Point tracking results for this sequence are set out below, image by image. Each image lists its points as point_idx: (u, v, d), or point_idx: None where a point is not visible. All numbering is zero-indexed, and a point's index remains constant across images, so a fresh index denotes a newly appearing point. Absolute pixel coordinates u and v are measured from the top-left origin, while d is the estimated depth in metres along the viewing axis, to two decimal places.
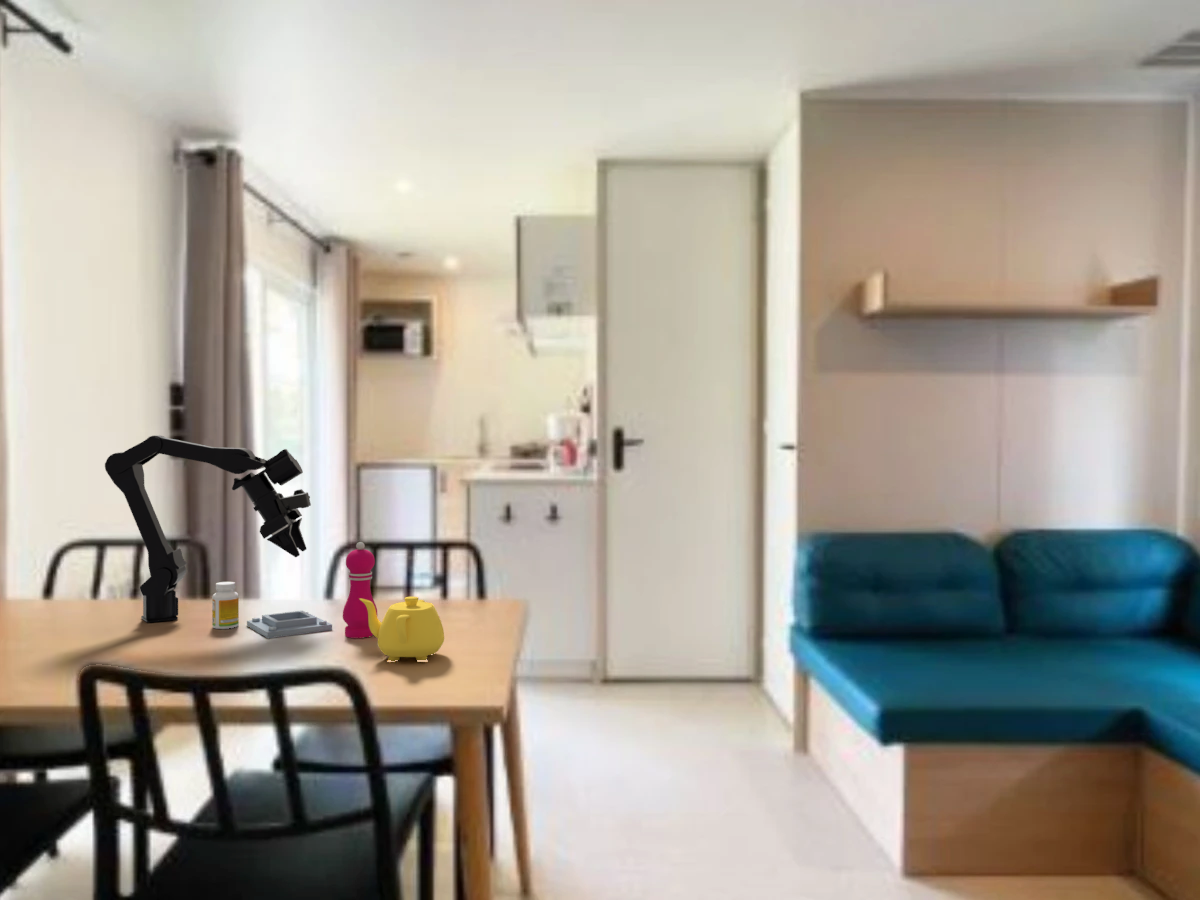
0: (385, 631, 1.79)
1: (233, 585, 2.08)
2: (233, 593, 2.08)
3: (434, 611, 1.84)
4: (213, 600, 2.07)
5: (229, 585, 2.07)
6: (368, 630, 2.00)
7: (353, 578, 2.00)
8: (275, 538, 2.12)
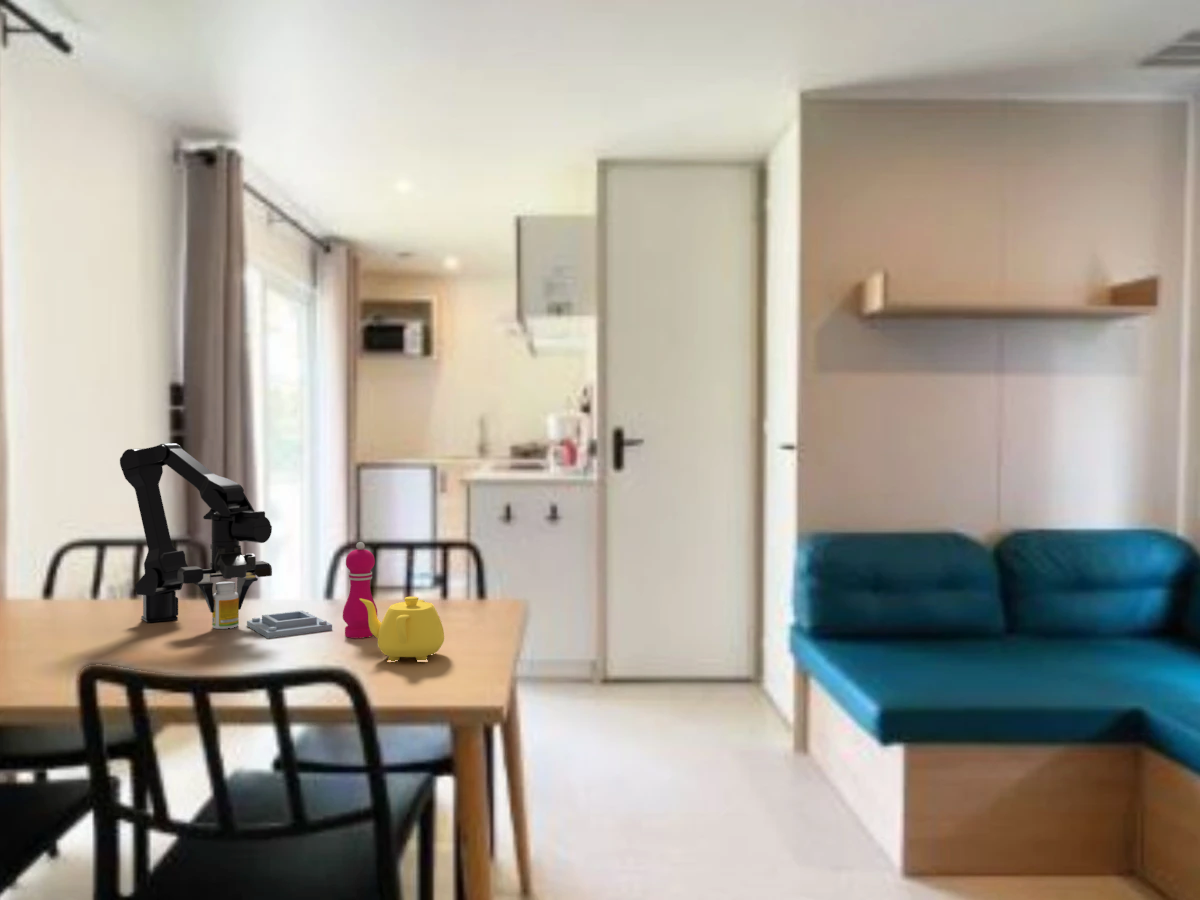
0: (385, 631, 1.79)
1: (233, 585, 2.08)
2: (233, 593, 2.08)
3: (434, 611, 1.84)
4: (213, 600, 2.07)
5: (229, 585, 2.07)
6: (368, 630, 2.00)
7: (353, 578, 2.00)
8: None
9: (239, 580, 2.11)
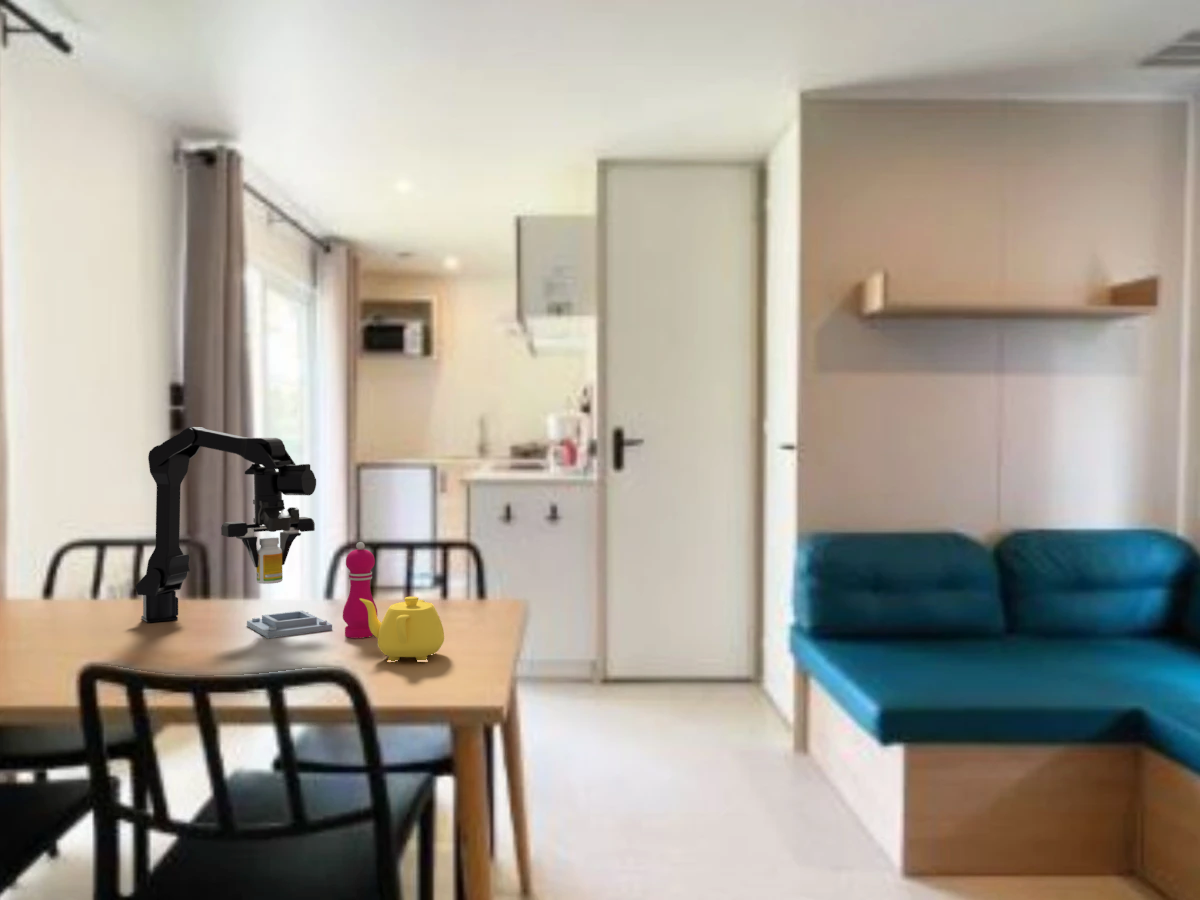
0: (385, 631, 1.79)
1: (277, 540, 2.07)
2: (277, 548, 2.07)
3: (434, 611, 1.84)
4: None
5: (273, 540, 2.06)
6: (368, 630, 2.00)
7: (353, 578, 2.00)
8: (244, 539, 2.06)
9: (282, 535, 2.11)
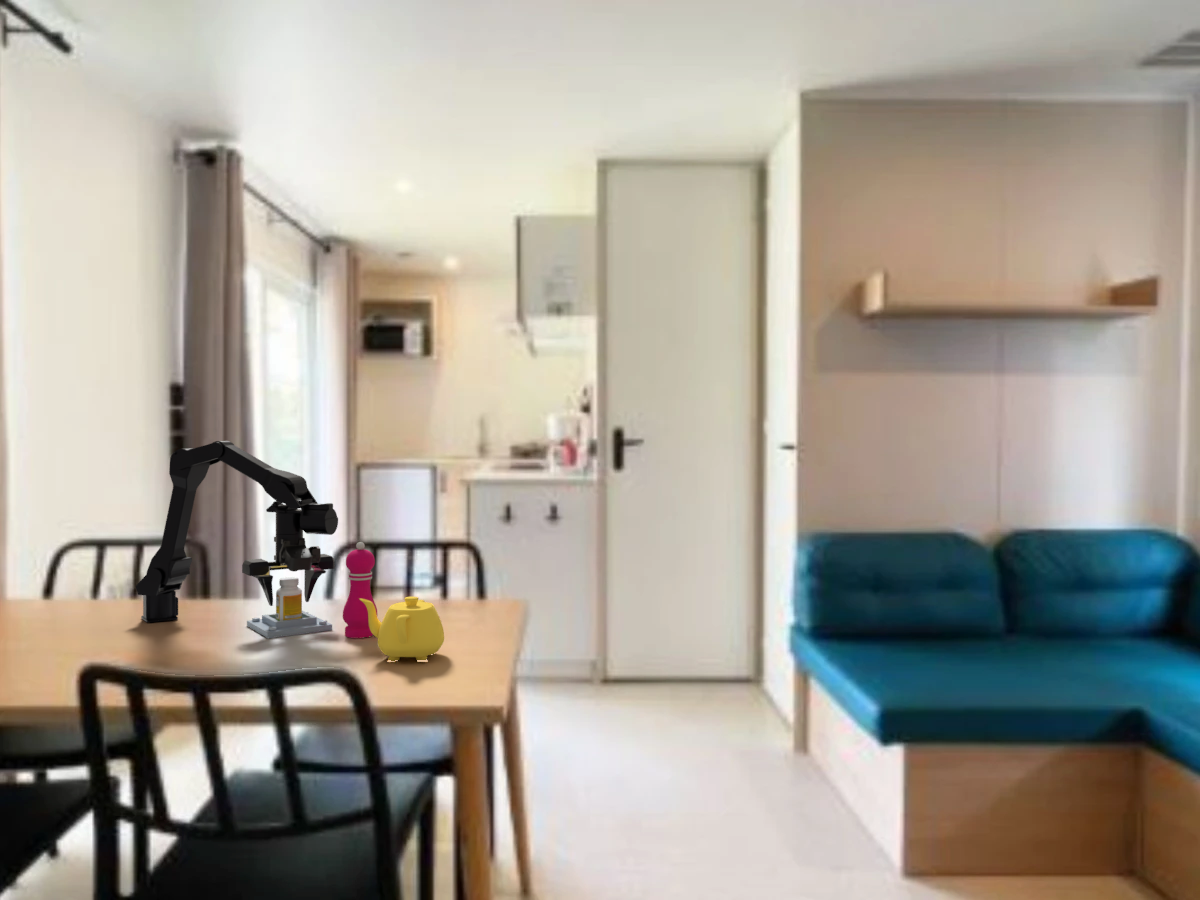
0: (385, 631, 1.79)
1: (297, 581, 2.08)
2: (297, 589, 2.07)
3: (434, 611, 1.84)
4: (277, 596, 2.06)
5: (293, 581, 2.07)
6: (368, 630, 2.00)
7: (353, 578, 2.00)
8: None
9: (307, 572, 2.12)
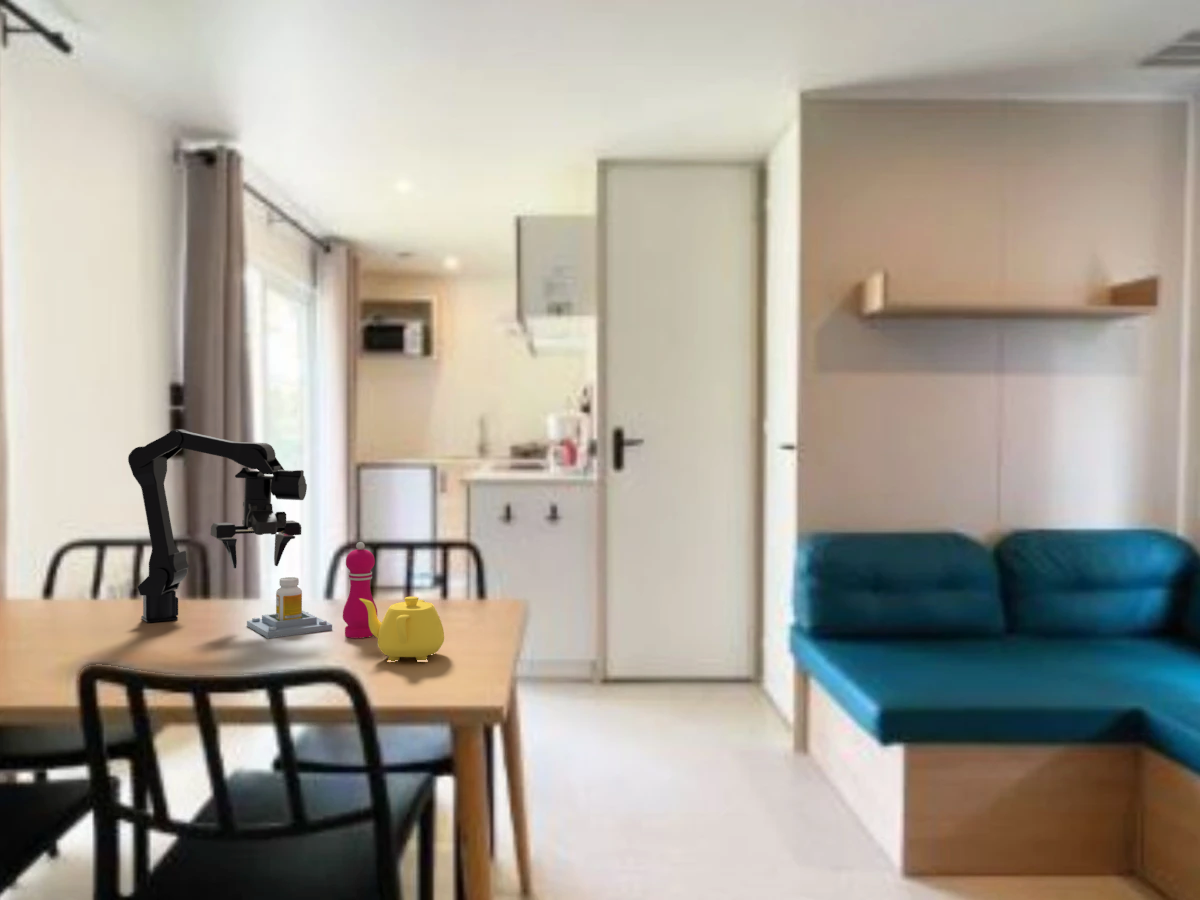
0: (385, 631, 1.79)
1: (297, 581, 2.08)
2: (297, 589, 2.07)
3: (434, 611, 1.84)
4: (277, 596, 2.06)
5: (293, 581, 2.07)
6: (368, 630, 2.00)
7: (353, 578, 2.00)
8: None
9: (277, 537, 2.19)
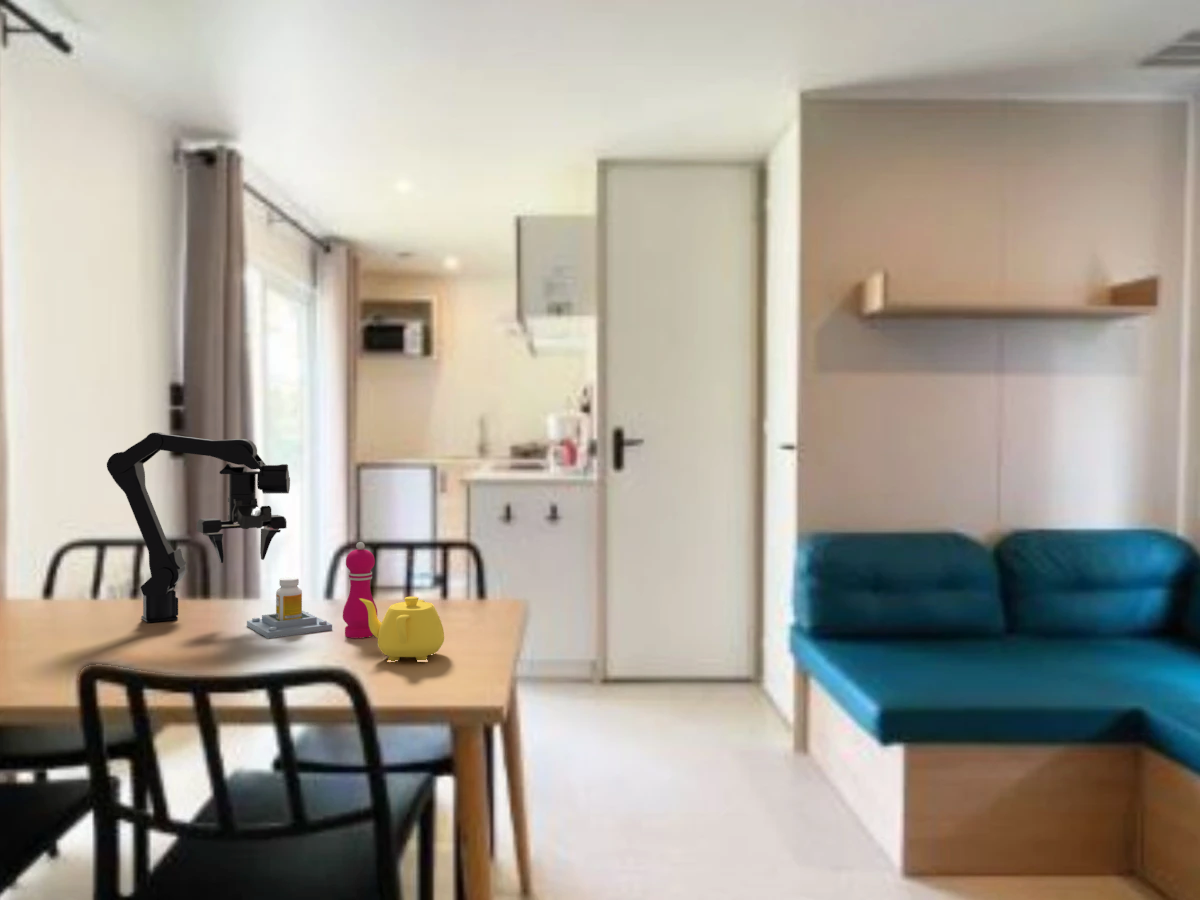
0: (385, 631, 1.79)
1: (297, 581, 2.08)
2: (297, 589, 2.07)
3: (434, 611, 1.84)
4: (277, 596, 2.06)
5: (293, 581, 2.07)
6: (368, 630, 2.00)
7: (353, 578, 2.00)
8: None
9: (263, 532, 2.22)
